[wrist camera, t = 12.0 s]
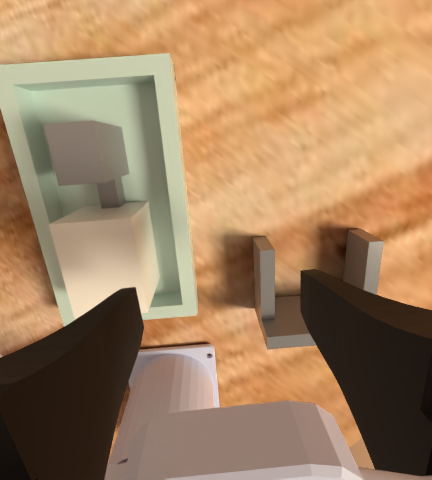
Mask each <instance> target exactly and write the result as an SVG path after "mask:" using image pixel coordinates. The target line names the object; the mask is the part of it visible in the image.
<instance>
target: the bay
mask: <svg viewBox="0 0 432 480" xmlns="http://www.w3.org/2000/svg"><path fill="white" fill-rule="evenodd" d="M383 243H384V241H383V240H381V239H379V238H377V237H375V236H373V235H371V234H369V233H367V232H366V231H364V230H362V229H351V230H348V234H347V245H346V257H345V268H344V280H343V281H344V282H346V283H348V284H351V285H353V286H355V287H358V288H360V289H363V290H365V291H368V292H370V293H373V294H376V295H377V288H378V280H379V273H380V265H381V258H382V250H383ZM253 258H254V294H255V311H256V314H257V317H258V321H259V324H260V327H261V330H262V334H263V337H264V340H265V343H266V347H267V349H278V348H290V347H302V346H314V345H316V343H315V342H314V340H313V338H312V337H311V335H310V333H309V331H308V329H307V327H306V324H305V322H304V319H303V317H302V314H301V312H300V295H295V296H283V297H275V249H274V248H273V246H272V245H271V243H270V242H269V240H268V239H267V238H266V236H262V237H253Z"/></svg>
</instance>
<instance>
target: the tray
mask: <svg viewBox="0 0 432 480" xmlns="http://www.w3.org/2000/svg"><path fill="white" fill-rule="evenodd" d="M0 109H1V112H2V116H3V119H4V122H5V126H6V129H7V133H8V136H9V140H10V143H11V147H12V150H13V153H14V157H15V160H16V164H17V167H18V171H19V174H20V177H21V181H22V184H23V188H24V191H25V195H26V198H27V201H28V205H29V208H30V212H31V215H32V219H33V222H34V225H35V229H36V232H37V236H38V239H39V243H40V246H41V249H42V253H43V256H44V260H45V263H46V267H47V270H48V273H49V277H50V280H51V284H52V287H53V291H54V294H55V298H56V301H57V304H58V308H59V311H60V315H61V318H62V322H63V325H64V326H66V325H68V324H69V323H71V322H72V321H74V320H76V319H77V318H76V319H74V315H73V312H72V308H71V304H70V301H69V297H68V293H67V290H66V286H65V282H64V279H63V275H62V271H61V268H60V264H59V261H58V257H57V253H56V250H55V246H54V242H53V239H52V235H51V231H50V228H49V224H51V223H53V222H55V221H57V220H59V219H61V218H63V217H65V216H67V215H69V214H71V213H73V212H75V211H77V210H79V209H81V208H83V207H85V206H91V205H101V203H100V198H99V193H98V188H97V184H96V183H93V184H80V185H67V186H59V185H58V181H57V177H56V173H55V169H54V165H53V161H52V157H51V153H50V149H49V145H48V141H47V137H46V133H45V129H44V125H43V124H51V123H64V122H78V121H92V120H93V121H97V122H101V123H106V124H110V125H115V126H119V127H122V132H123V138H124V144H125V150H126V156H127V162H128V168H129V174H127V175H124V176H122V177H121V178H122V184H123V190H124V195H125V201H126V203H130V202H143V201H149V205H150V212H151V219H152V225H153V232H154V239H155V245H156V252H157V259H158V266H159V272H160V278H159V281H158V284H157V287H156V290H155V293H154V296H153V299H152V302H151V305H150V308H149V310H148V313H141V315H142V320H147V319H160V318H172V317H184V316H196V315H197V312H198V292H197V283H196V273H195V263H194V254H193V244H192V234H191V224H190V215H189V205H188V195H187V186H186V176H185V166H184V157H183V147H182V137H181V127H180V118H179V108H178V98H177V89H176V79H175V69H174V64H173V61H172V59H171V56H170V53H165V54H151V55H136V56H122V57H107V58H93V59H79V60H64V61H50V62H35V63H21V64H6V65H0Z"/></svg>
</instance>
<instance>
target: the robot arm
mask: <svg viewBox="0 0 432 480" xmlns="http://www.w3.org/2000/svg"><path fill="white" fill-rule="evenodd" d="M300 312H301V314H302V317H303V319H304V322H305V324H306V327H307V329H308V331H309V333H310V335H311V337H312V338H313V340H314V342H315V343H316V345H317V347H318V349H319V350H320V352H321V354H322V355H323V357H324V359H325V361H326V362H327V364H328V366H329V367H330V369H331V371H332V372H333V374H334V376H335V378H336V380H337V382H338V384H339V386H340V388H341V390H342V392H343V394H344V396H345V399H346V401H347V403H348V405H349V407H350V410H351V412H352V414H353V417H354V419H355V421H356V424H357V426H358V428H359V431H360V433H361V435H362V438H363V440H364V443H365V445H366V447H367V450H368V453H369V455H370V458H371V460H372V463H373V465H374V468H375V469H369V468H361V467H357V465H356V463H355V461H354V458H353V456H352V454H351V452H350V450H349V448H348V446H347V444H346V441H345V439H344V437H343V435H342V433H341V431H340V429H339V427H338V425H337V422H336V420H335V418H334V416H333V415H331V414H330V413H328V412H327V411H326V410H324V409H323V408H321V407H320V406H318V405H317V404H315V403H309V402H299V401H289V400H286V401H276V402H266V403H256V404H247V405H237V406H227V407H219V395H218V384H217V373H216V361H215V350H214V346H213V345H211V344H202V345H190V346H178V347H166V348H154V349H142V350H139V349H140V345H141V341H142V335H143V330H144V325H143V320H142V315H141V310H140V305H139V301H138V296H137V291H136V287H131V288H122V289H120V290H118V291H116V292H115V293H113V294H112V295H110V296H109V297H107V298H106V299H105V300H103V301H102V302H100V303H99V304H98V305H96V306H95V307H93V308H92V309H91V310H89V311H88V312H86V313H85V314H83V315H82V316H80V317H79V318H77V319H76V320H74V321H72V322H71V323H69V324H68V325H66V326H65V327H63V328H61V329H59V330H58V331H56V332H54V333H52V334H50V335H49V336H47V337H45V338H43V339H41V340H39V341H37V342H35V343H33V344H30V345H28V346H26V347H24V348H22V349H20V350H18V351H15V352H13V353H11V354H9V355H6V356H4V357H1V358H0V480H432V310H428V309H424V308H419V307H415V306H411V305H407V304H404V303H400V302H397V301H394V300H391V299H387V298H384V297H381V296H378V295H376V294H373V293H370V292H368V291H365V290H363V289H360V288H358V287H355V286H353V285H351V284H348V283H346V282H344V281H342V280H339V279H337V278H335V277H333V276H331V275H328V274H326V273H324V272H321V271H319V270H315V269H313V270H303V271H301V294H300ZM207 354H211V355H207ZM128 382H129V387H130V394H129V398H128V401H127V404H126V408H125V411H124V414H123V417H122V421H121V424H120V427H119V431H118V434H117V437H116V440H115V444H114V447H113V450H112V454H111V457H110V460H109V464H108V459H109V454H110V449H111V445H112V440H113V435H114V431H115V427H116V422H117V418H118V414H119V410H120V406H121V402H122V399H123V396H124V393H125V390H126V387H127V384H128Z"/></svg>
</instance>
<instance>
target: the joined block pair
mask: <svg viewBox="0 0 432 480" xmlns="http://www.w3.org/2000/svg"><path fill="white" fill-rule="evenodd" d="M43 125H44V129H45V133H46V137H47V141H48V145H49V149H50V153H51V157H52V161H53V165H54V169H55V173H56V177H57V181H58V185H59V186H67V185H80V184H93V183H96V184H97V188H98V193H99V198H100V203H101V205H91V206H85V207H83V208H81V209H79V210H77V211H75V212H73V213H71V214H69V215H67V216H65V217H63V218H61V219H59V220H57V221H55V222H53V223H51V224H49V228H50V231H51V235H52V239H53V242H54V246H55V250H56V253H57V257H58V261H59V264H60V268H61V271H62V275H63V279H64V282H65V286H66V290H67V293H68V297H69V301H70V304H71V308H72V312H73V315H74V319H76V318H79V317H80V316H82V315H83V314H85V313H86V312H88V311H89V310H91V309H92V308H93V307H95V306H96V305H98V304H99V303H100V302H102V301H103V300H105V299H106V298H107V297H109V296H110V295H112V294H113V293H115V292H116V291H118V290H120V289H122V288H131V287H136V291H137V296H138V301H139V305H140V310H141V313H148V310H149V308H150V305H151V302H152V299H153V296H154V293H155V290H156V287H157V284H158V281H159V278H160V272H159V266H158V259H157V252H156V245H155V239H154V232H153V225H152V219H151V212H150V205H149V201H143V202H130V203H126V201H125V195H124V190H123V184H122V178H121V177H122V176H124V175H127V174H129V168H128V162H127V156H126V150H125V144H124V138H123V132H122V127H119V126H115V125H110V124H106V123H101V122H97V121H93V120H92V121H78V122H64V123H51V124H43Z"/></svg>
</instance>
